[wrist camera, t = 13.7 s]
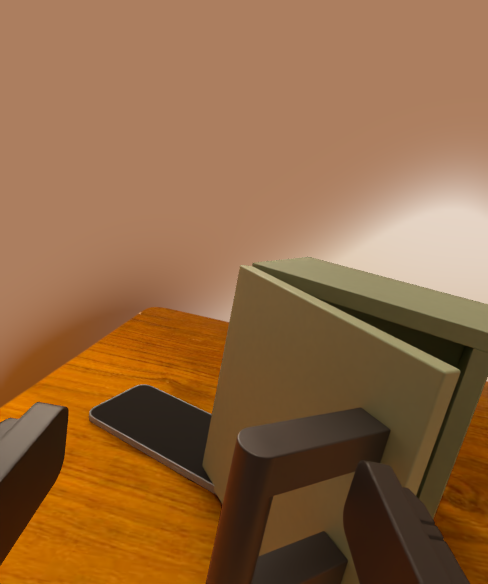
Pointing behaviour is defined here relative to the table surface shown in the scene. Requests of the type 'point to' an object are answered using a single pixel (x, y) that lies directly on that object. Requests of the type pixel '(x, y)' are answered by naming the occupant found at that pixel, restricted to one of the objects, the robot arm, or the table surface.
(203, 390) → the table surface
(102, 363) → the table surface
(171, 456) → the smartphone
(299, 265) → the cupboard
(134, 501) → the table surface
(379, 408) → the cupboard door
